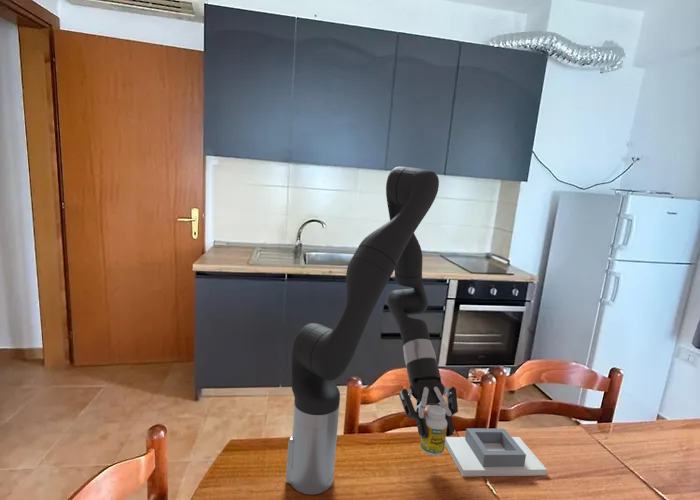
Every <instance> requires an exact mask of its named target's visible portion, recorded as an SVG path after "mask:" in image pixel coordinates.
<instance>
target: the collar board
mask: <svg viewBox="0 0 700 500" xmlns="http://www.w3.org/2000/svg"><path fill="white" fill-rule="evenodd" d="M444 447H445V448H446V449H447V450H448V451H447V452H448V453H449V455H450V456H451V458H452V460H453V462H454V463H455V465H456V467H457V470H459V472H460V474H461V476H462V477H510V476H511V477H514V476H515V477H517V476H518V477H519V476H521V477H522V476H523V477H524V476H525V477H526V476H529V477H530V476H531V477H532V476H534V477H535V476H547V472H548V469H547V468H546V466H544V464H543V463H542V462H541V461H540V459H538V457H537V456H536V455H535V453H533V451H532V450H531V449H530V448H529V447H528V445H527V444H526V443H525V442H524V441H523V440H522V439H521V437H520V436H511V435H510V433H508V431H507V430H506V429H505V428H484V427H483V428H482V427H481V428H479V427H478V428H473V427H472V428H465V436H450V437H447V436H446V439H445V446H444Z"/></svg>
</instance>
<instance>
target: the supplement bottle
mask: <svg viewBox="0 0 700 500" xmlns="http://www.w3.org/2000/svg"><path fill="white" fill-rule="evenodd" d="M445 415H446V411H445V409H444V408H442V407H440V406H437V405H428V406H427V409H426V414H424V417H423V419H425V421H426V426H427V430H428V437H427V438H424V439H422V437H421V436H420V443H419V446H420V449H421V451H422V452H423V453H425V454H426V455H429V456H432V457H433V456H434V457H435V456H436V457H437V456H441V455H443V453H444V451H445V447H446V446H445V439H446V437H447V436H446V432H447V420H446V419H445Z"/></svg>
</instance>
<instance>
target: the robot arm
mask: <svg viewBox="0 0 700 500" xmlns="http://www.w3.org/2000/svg"><path fill="white" fill-rule="evenodd" d="M439 180H440V179H439V176H438V174H437V173H436V172H434V171H432V170H429V169H426V168H425V169H423V168H418V167H417V168H416V167H409V166H396V167H394V168H393V169H391V171H390V172H389V174H388V176H387V180H386V184H385V185H386V186H385V191H386V192H385V195H386V203H387V210H388V214H389V215H388V216H389V221H388V222H385V224H383V225H381V226H380V227H378V228H376V230H374V231H372V232H370V233H369V234H368V235H367V236H365V237H364V238H363V239H362V240H361V242H360V243H359V245H358V247H357V248H356V250H355V252H354V254H353V255H352V256H351V258H350V261H349V263H348V265H347V269H346V273H345V274H346V275H345V278H346V279H345V286H346V288H345V290H346V291H345V292H346V295H345V296H346V297H345V298H346V299H345V305H344V308H343V309H342V313H341V315H340V316H339V317H340V318H339V319H338V321H337V323H336V325H335V326H334V328H333V329H332V328H331V327H328V326H326V325H322V324H320V323H316V322H311V323H307V324H305V325H304V326H303V327H301V329H300V330H299V331H298V332H297V334H296V335H295V338H294V340H293V345H292V348H291V349H292V350H291V374H290V375H291V390H292V393H293V396H294V400H293V401H294V403H293V404H294V405H293V419H292V421H293V422H292V435H291V436H290V437H289V439H288V442H287V454H286V455H287V457H286V471H285V472H286V473H285V483H287V484H290V485H291V487H292V488H293V489H294V490H296V492H298V493H301V494H305V495H318V494H321V493H325V492H326V491H327V490H329V489H330V488H331V487H332V485H333V483H334V477H335V476H334V475H335V466H336V465H335V462H336V451H337V440H338V439H337V438H338V427H339V414H340V402H341V393H340V390H339V388H338V386H337V385H336V384H335V382H334V381H335V380H337V379H339V378H341V377H342V375H344V373H345V372H346V370H347V369H348V367H349V366H350V364H351V362H352V360H353V359H354V355H355V353H356V351H357V349H358V346H359V343H360V342H361V339H362V336H363V333H364V331H365V329H366V326H367V324H368V321H369V319H370V318H371V315H372V313H373V312H374V309H375V307H376V305H377V303H378V301H379V298H380V297H381V296H382V293H383V291H384V289H385V288H386V287H387V285H388V282H389V281H390V279H391V277H392V275H393V274H394V280H395V282H396V284H398V285H399V286H403V287H407V288H403V289H394V290H392V291H390V292H389V294H388V296H387V299H386V301H387V307H388V310H389V312H390V314H391V316H392V318H393V319H394V321H395V323H396V326H397V327H398V328H397V329H398V330H399V333H400V337H401V343H402V348H403V357H404V364H405V367H406V372H407V377H408V382H409V389H408V388H403V389H402V390H401V391H400V392H399V394H398V395H399V398H400V402H401V405H402V407H403V409H404V413H405V416H406V417H407V418H408V419H413V420H414V421H415V422H416V426H417V431H418V435H419V436H420V438H421V437H422V439H424V438H427V437H428V430H427V426H426V421H425V419H423V418H424V416H425V411H426V410H425V409H426V408H427V407H428V406H430V405H437V406H440V407H442V408H444V409H445V411H446V415H445V419H446V420H447V432H446V437H453V435H454V433H455V427H454V423H453V419H452V418H453V417H452V416H454V415H455V414H457V413H458V412H459V406H458V398H457V388H456V387H454V386H452V387H446V386H444V384H443V383H442V379H441V378H442V376H441V372H440V368H439V365H438V361H437V357H436V356H437V355H436V352H435V349H434V346H433V344H432V341H431V337H430V336H431V335H430V332H429V328H428V325H427V323H426V321H424V319H420V318H413V317H410V316H416V315H422V314H424V313H426V310H427V309H428V306H429V301H428V297H427V294H426V291H425V288H424V287H425V286H424V283H423V282H424V281H423V251H422V248H421V245H420V243H419V240H418V239H417V236H416V234H415V232H416V231H417V228H419V225H420V224H421V223H422V221H423V219H424V218H425V216H426V215H427V214H428V212H429V210H430V209H431V207H432V205H433V203H434V201H435V200H436V198H437V195H438V191H439V186H440V181H439ZM444 395H445V398H447V399H446V400H447V401H446V400H445V398H444ZM412 397H413V398H414V399H415V406H414V404H413V401H412V400H411V398H412Z"/></svg>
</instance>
